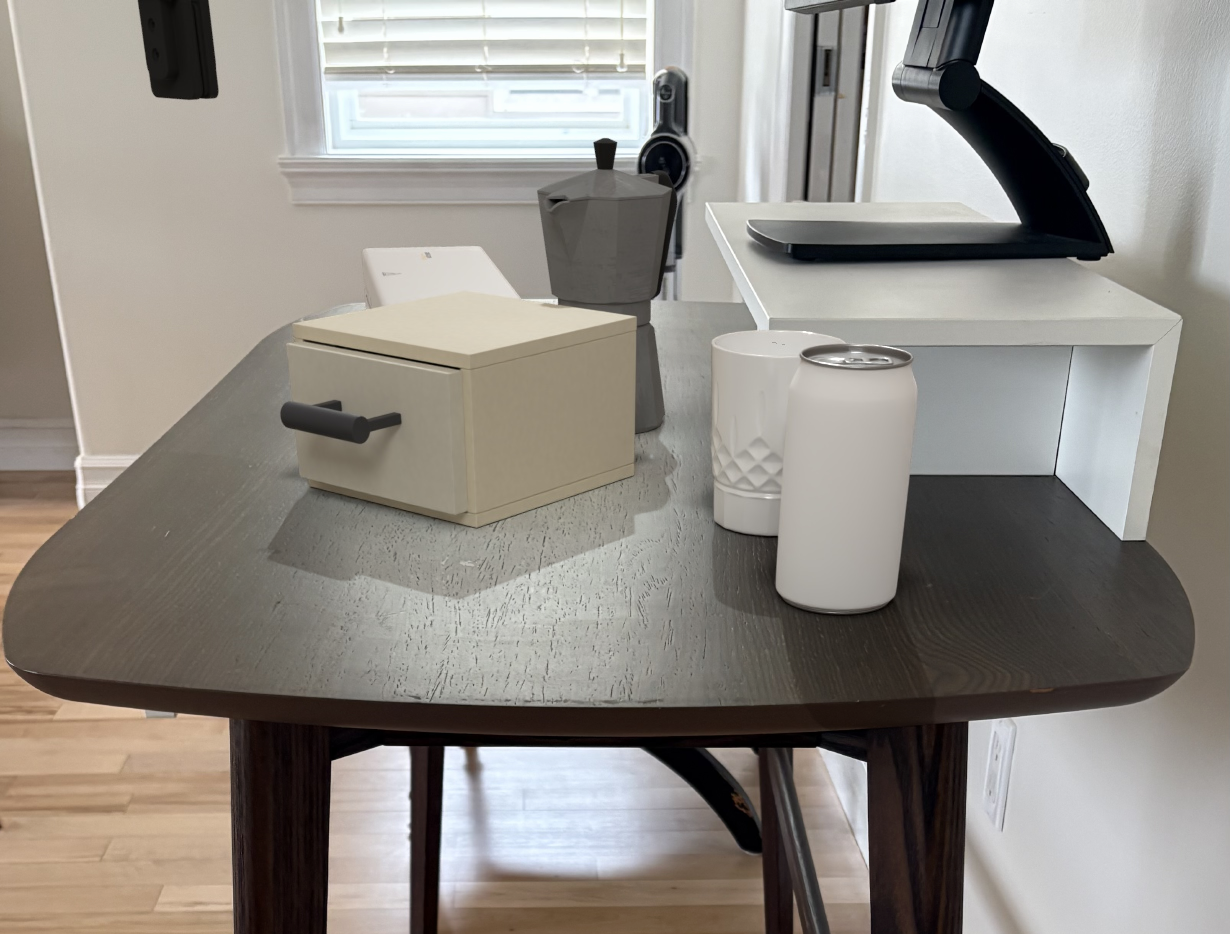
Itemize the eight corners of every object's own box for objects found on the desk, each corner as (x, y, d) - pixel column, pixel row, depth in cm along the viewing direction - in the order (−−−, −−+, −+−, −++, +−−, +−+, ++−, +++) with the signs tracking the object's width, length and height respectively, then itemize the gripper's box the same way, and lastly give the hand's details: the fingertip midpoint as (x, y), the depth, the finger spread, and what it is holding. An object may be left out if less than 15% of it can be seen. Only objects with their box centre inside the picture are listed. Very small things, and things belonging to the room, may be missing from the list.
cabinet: (476, 528, 95) (469, 354, 89) (308, 486, 102) (291, 322, 96) (634, 475, 105) (637, 316, 99) (471, 440, 112) (464, 290, 106)
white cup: (756, 547, 92) (767, 361, 86) (678, 514, 97) (683, 337, 91) (860, 527, 95) (877, 347, 89) (779, 496, 101) (790, 324, 95)
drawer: (404, 531, 91) (394, 386, 86) (248, 491, 97) (231, 353, 93) (606, 466, 103) (606, 335, 98) (454, 434, 109) (448, 310, 105)
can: (772, 576, 87) (787, 340, 80) (889, 578, 87) (914, 342, 80) (777, 615, 82) (794, 366, 75) (901, 618, 82) (930, 369, 75)
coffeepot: (606, 448, 110) (608, 149, 100) (499, 429, 114) (490, 140, 104) (719, 407, 121) (731, 133, 110) (617, 391, 125) (619, 125, 114)
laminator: (366, 321, 148) (361, 247, 144) (497, 318, 150) (494, 245, 146) (391, 403, 121) (385, 314, 117) (550, 398, 123) (549, 310, 119)
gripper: (200, -378, 74) (250, 87, 84) (-88, -432, 64) (9, 101, 75) (311, -395, 70) (349, 94, 81) (23, -455, 60) (109, 110, 71)
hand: (185, 96), depth 78 cm, fingers closed
